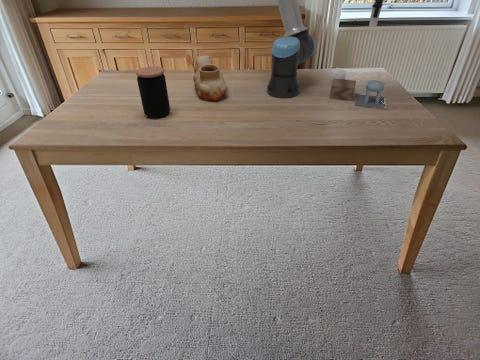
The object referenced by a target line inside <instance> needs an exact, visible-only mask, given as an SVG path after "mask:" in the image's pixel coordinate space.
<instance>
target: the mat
mask: <svg viewBox="0 0 480 360" xmlns="http://www.w3.org/2000/svg"><path fill="white" fill-rule="evenodd" d="M365 95H366V94H361V93H360V94H359V93H356V97H355V102H356V103H355V104H354V106H355V107H356V106H357V107H362V106H366V107H365V108H371V107H376V108H375V109H379V108H384V107H385V106H386V105H385V104H383V103H384V98H385V97H386V96H380V99H379V103H378V104H375V102H376V100H375V98H376V95H371V94H370V95H369V99H368V103H365ZM381 101H382V102H383V103H382V102H381ZM382 106H383V107H382ZM386 107H387V108H388V105H387V106H386Z"/></svg>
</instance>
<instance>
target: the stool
mask: <svg viewBox="0 0 480 360" xmlns="http://www.w3.org/2000/svg"><path fill="white" fill-rule="evenodd" d="M385 84H386V83H385V82H384V81H381V80H368V81H367V82H366V87H365V89H366V92H365V94H364V95H365V103H368V99H369V95H371V92H375V93H376V95H375V96H376V98H375V100H376V102H375V104H378V103H379V99H380V97H382V96H381V95H382V92H383V91H384V88H385Z"/></svg>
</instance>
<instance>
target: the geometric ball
mask: <svg viewBox="0 0 480 360" xmlns="http://www.w3.org/2000/svg"><path fill="white" fill-rule="evenodd" d="M346 76H347V74H346V71H345V70H344V69H343V68H341V67H335V68H333V69H331V71H330V73H329V76H328V79H329V80H330V82H331V84H332V83H333V79H334V78H335V79H345V80H346Z"/></svg>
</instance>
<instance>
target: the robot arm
mask: <svg viewBox="0 0 480 360" xmlns="http://www.w3.org/2000/svg"><path fill="white" fill-rule="evenodd" d="M383 2H384V0H374V1H373V4H372V5H371V6H372V9H371V14H370V17H369V25H368V27H370V28H377V25H378V23H379V22H378V21H379V18H380V14H381V10H382V7H383V5H384V4H383ZM276 3H277V6H278V10H279V13H280V18H281V22H282V24H283V28H284V34H283V36H282V37H279V38H277V39H275V40H274V42H273V43H272V49H271V70H270V71H271V72H270V78H269V81H268V83H267V85H266V93H267V95H269V96H271V97H274V98H279V99H287V98H294V97H296V96H297V95H299V91H300V87H299V83H298V76H297V75H298V74H297V73H298V66H299V65H300V64H302V63H304V62H306V61H308V60H309V59H310V58H311V57H312V56H313V55H314V54H315V51H316V41H315V39H314V37H313V36H312V35H311V34H310V33H309V29H308V27H306V26H305V25H304V24H303V18H302V14H301V10H300V7H299V3H298V0H276Z"/></svg>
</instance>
